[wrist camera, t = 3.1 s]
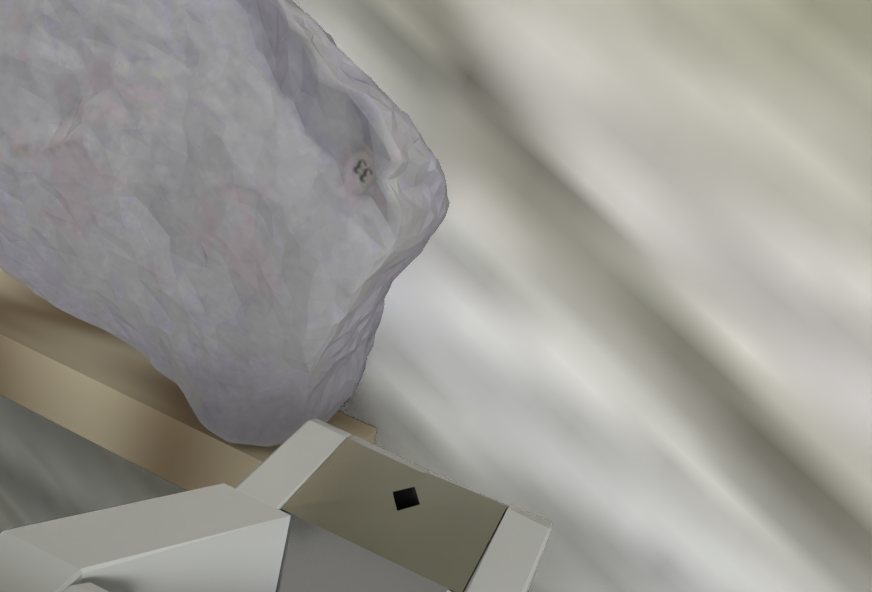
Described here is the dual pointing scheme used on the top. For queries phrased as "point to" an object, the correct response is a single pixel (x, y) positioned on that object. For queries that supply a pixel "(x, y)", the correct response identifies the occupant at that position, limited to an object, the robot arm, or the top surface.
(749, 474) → the top surface
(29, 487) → the top surface
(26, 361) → the twin tan bars
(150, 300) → the stone block
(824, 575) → the top surface
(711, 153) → the top surface
